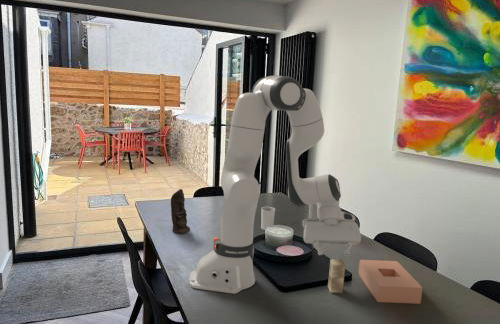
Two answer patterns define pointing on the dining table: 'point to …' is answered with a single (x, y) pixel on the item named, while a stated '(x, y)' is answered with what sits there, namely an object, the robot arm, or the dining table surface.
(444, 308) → the dining table surface
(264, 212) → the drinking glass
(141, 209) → the dining table surface
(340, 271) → the peg
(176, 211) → the statue
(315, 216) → the water bottle
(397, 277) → the socket
